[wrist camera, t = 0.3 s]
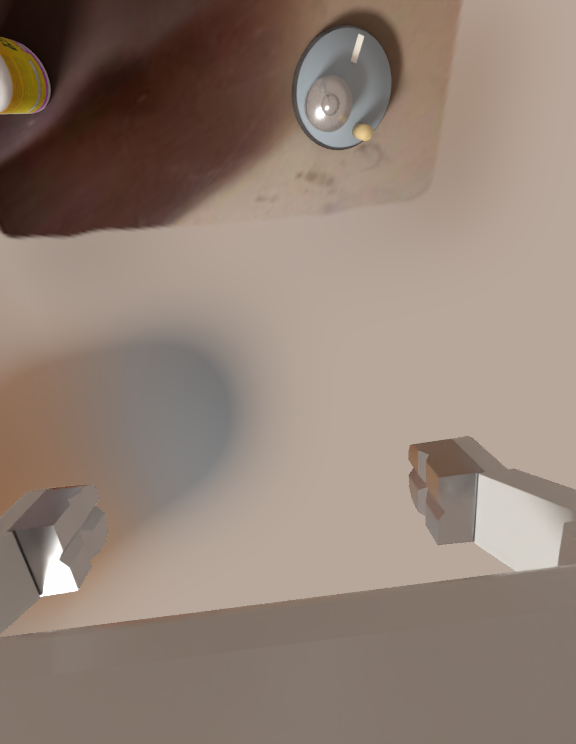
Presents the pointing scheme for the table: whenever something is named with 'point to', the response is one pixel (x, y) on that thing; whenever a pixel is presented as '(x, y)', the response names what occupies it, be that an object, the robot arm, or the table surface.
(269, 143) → the table surface
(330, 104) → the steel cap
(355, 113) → the turntable
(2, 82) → the supplement bottle
